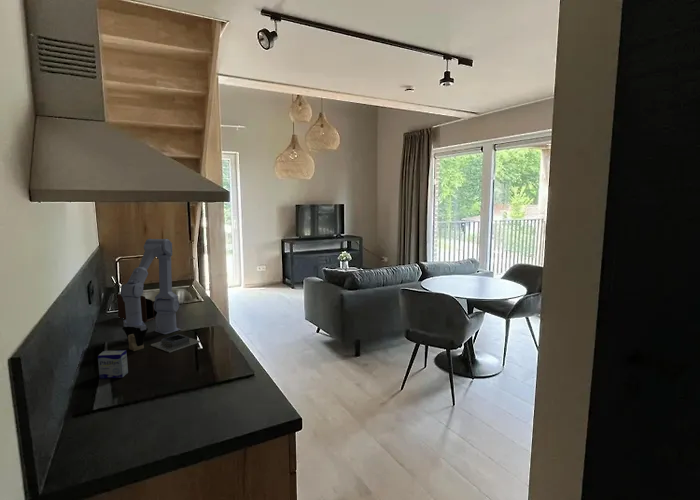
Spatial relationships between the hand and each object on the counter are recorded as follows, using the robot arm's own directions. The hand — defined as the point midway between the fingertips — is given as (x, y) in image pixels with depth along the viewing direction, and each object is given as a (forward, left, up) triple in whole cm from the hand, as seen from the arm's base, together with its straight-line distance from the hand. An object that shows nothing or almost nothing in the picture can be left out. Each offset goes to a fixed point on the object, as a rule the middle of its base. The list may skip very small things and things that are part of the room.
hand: (136, 344), depth 165 cm
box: (+20, -18, -2) cm, 27 cm away
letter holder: (-44, +24, -2) cm, 50 cm away
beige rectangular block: (0, 0, -2) cm, 2 cm away
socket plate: (+9, +12, -2) cm, 15 cm away
